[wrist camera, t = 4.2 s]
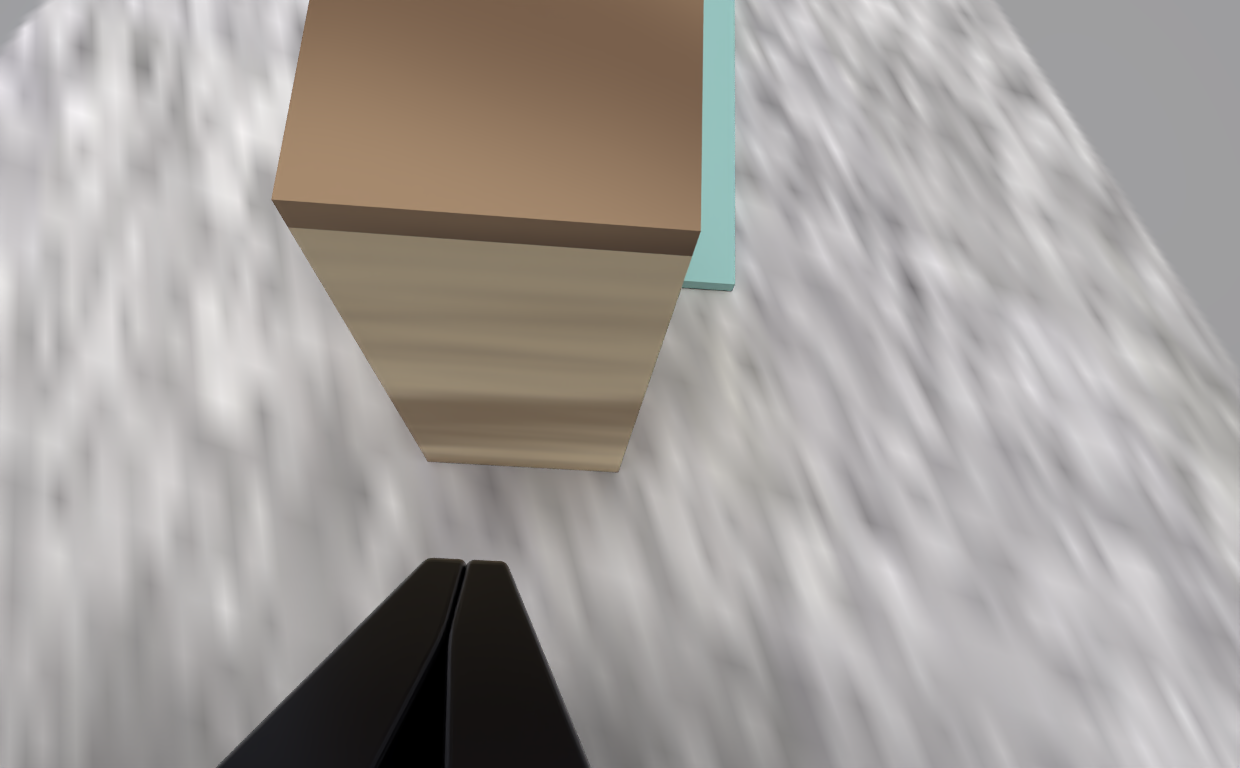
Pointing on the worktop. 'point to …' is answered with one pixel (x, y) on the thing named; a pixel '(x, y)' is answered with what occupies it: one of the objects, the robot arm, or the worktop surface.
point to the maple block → (501, 209)
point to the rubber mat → (717, 154)
